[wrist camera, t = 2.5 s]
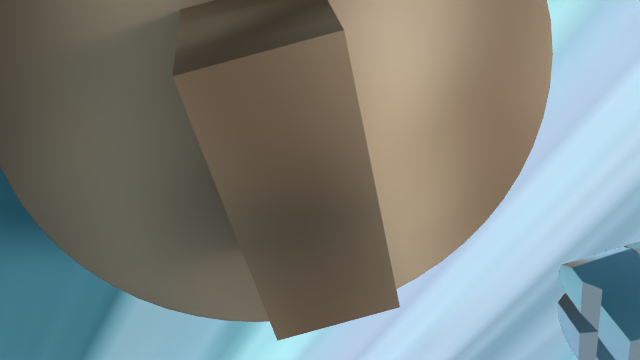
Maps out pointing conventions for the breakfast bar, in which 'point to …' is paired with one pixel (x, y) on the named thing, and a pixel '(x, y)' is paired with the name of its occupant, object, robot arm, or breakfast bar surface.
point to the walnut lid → (268, 142)
